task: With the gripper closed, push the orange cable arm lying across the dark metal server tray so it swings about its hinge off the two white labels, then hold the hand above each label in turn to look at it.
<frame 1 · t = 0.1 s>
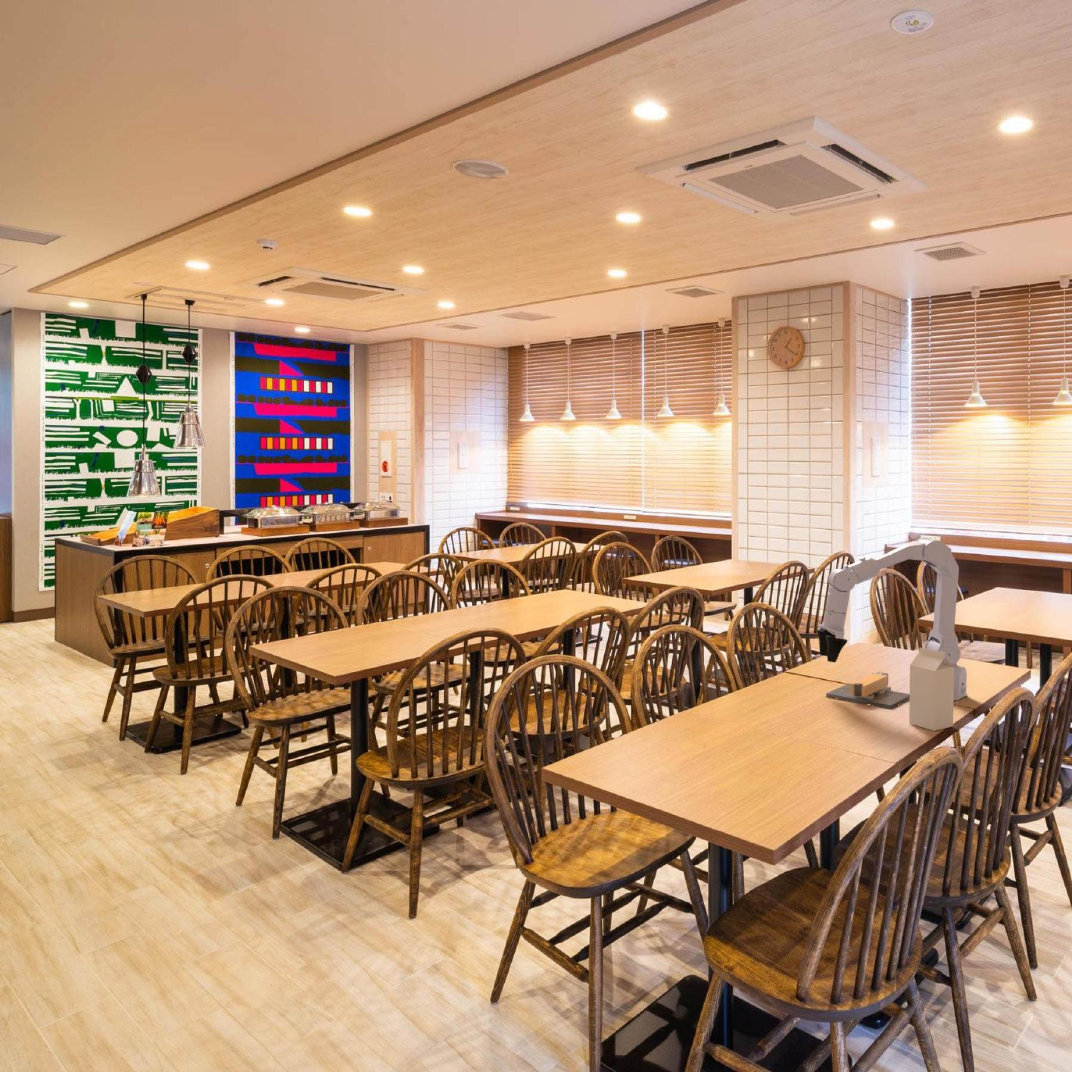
hand: (827, 658, 234), 10 cm above the table, tool pointing down, fingers open, 7 cm apart
server tray: (868, 697, 231), on the table
milk carton: (931, 726, 205), on the table
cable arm: (870, 684, 232), point 4 cm above the table, hinge at 0.0°
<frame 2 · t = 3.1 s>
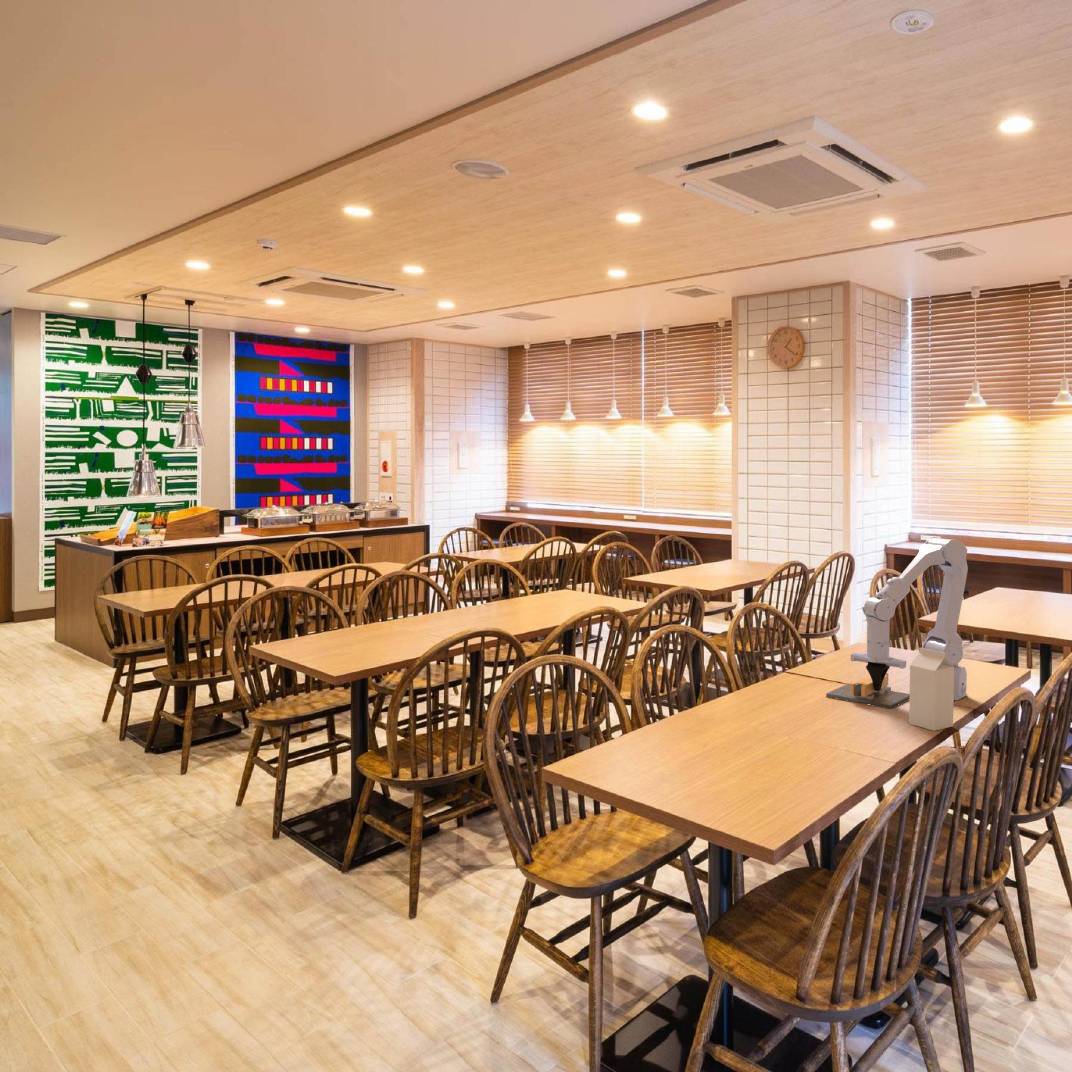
hand: (877, 690, 228), 3 cm above the table, tool pointing down, fingers closed
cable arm: (870, 684, 232), point 4 cm above the table, hinge at -0.4°, touching gripper
everything else where it was.
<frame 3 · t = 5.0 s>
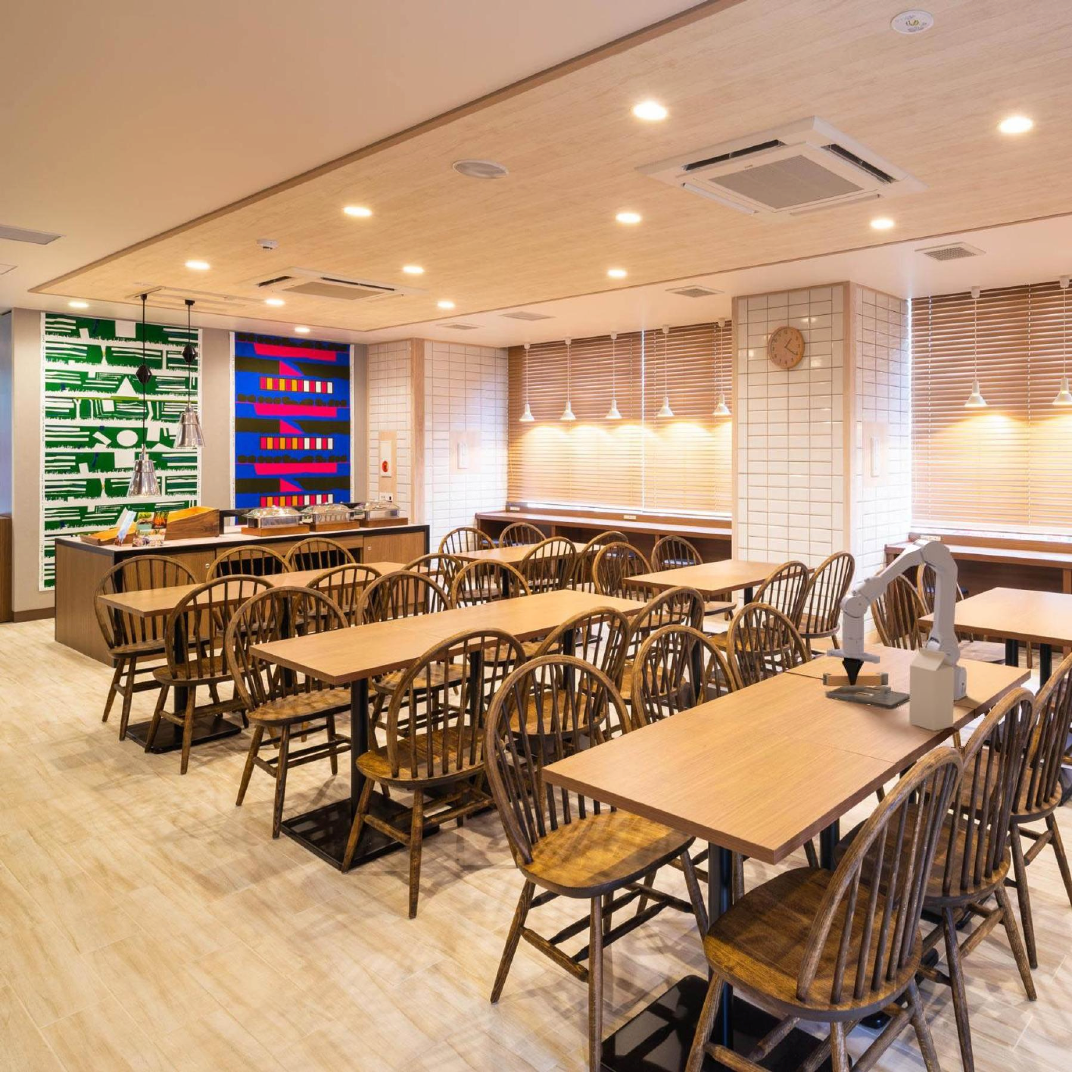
hand: (852, 684, 234), 3 cm above the table, tool pointing down, fingers closed
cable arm: (855, 679, 237), point 4 cm above the table, hinge at -47.2°, touching gripper
everything else where it was.
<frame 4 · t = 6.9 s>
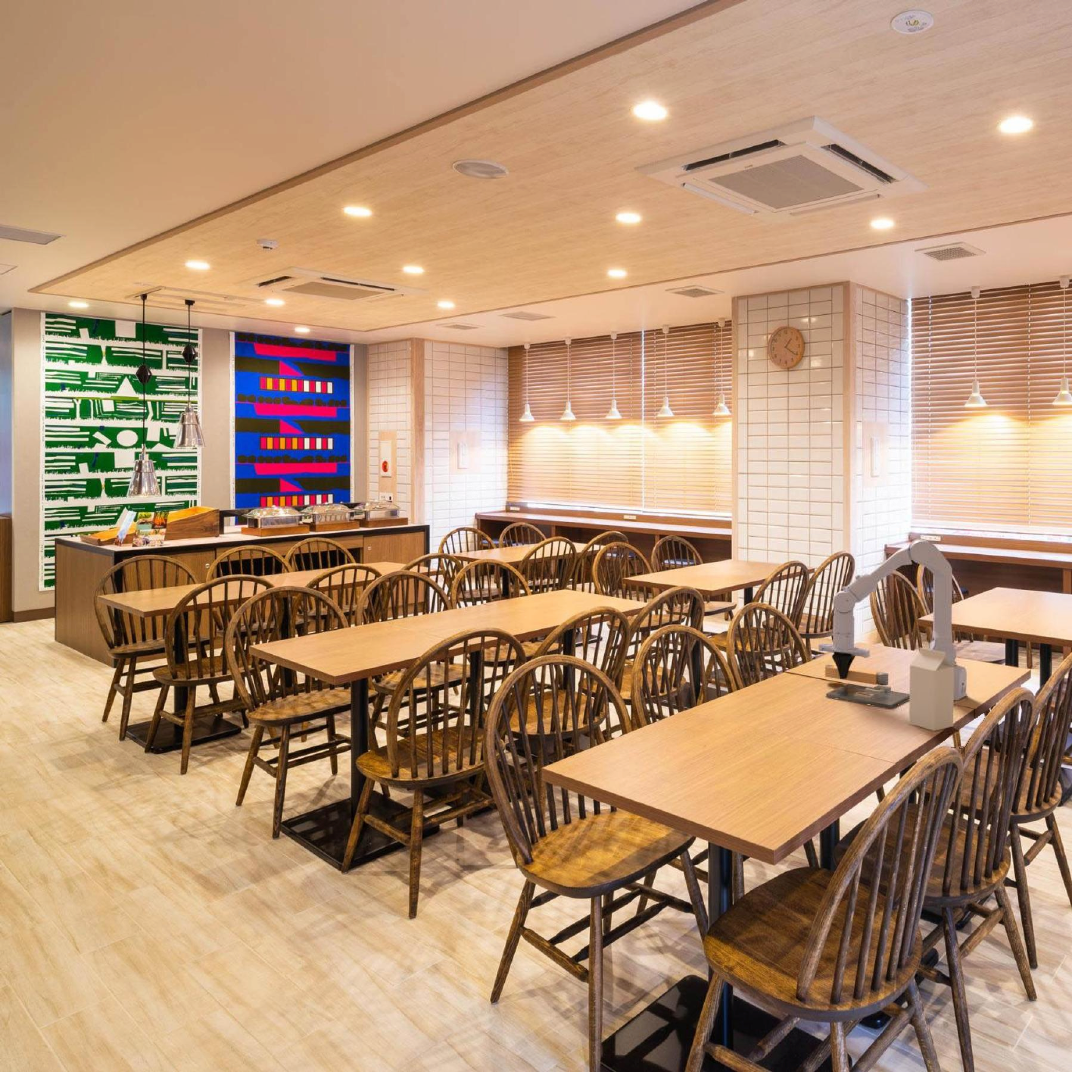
hand: (843, 678, 241), 3 cm above the table, tool pointing down, fingers closed, pressing on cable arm
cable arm: (856, 674, 242), point 4 cm above the table, hinge at -87.9°, touching gripper
everything else where it was.
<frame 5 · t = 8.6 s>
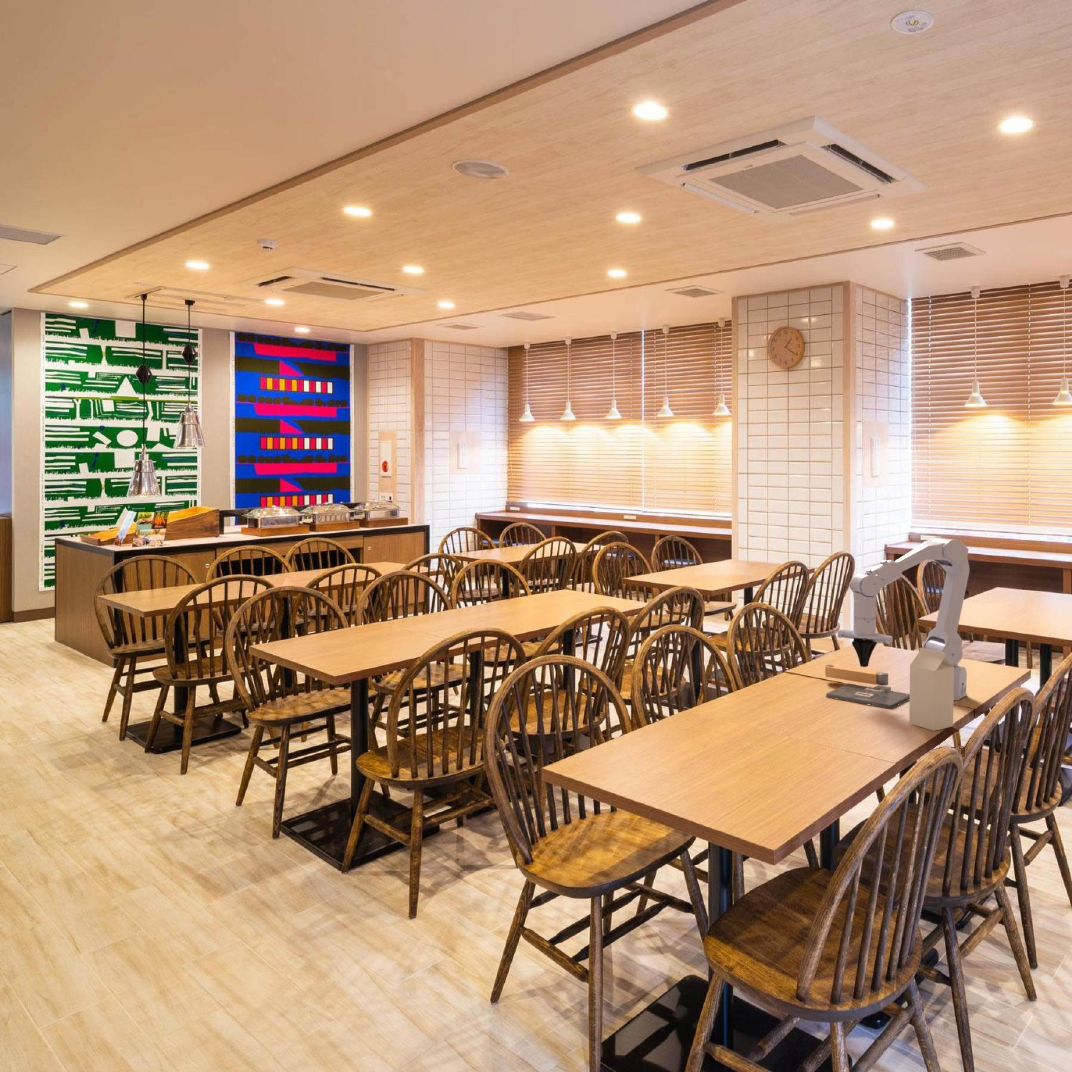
hand: (864, 666, 228), 9 cm above the table, tool pointing down, fingers closed
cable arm: (856, 674, 242), point 4 cm above the table, hinge at -88.3°
everything else where it was.
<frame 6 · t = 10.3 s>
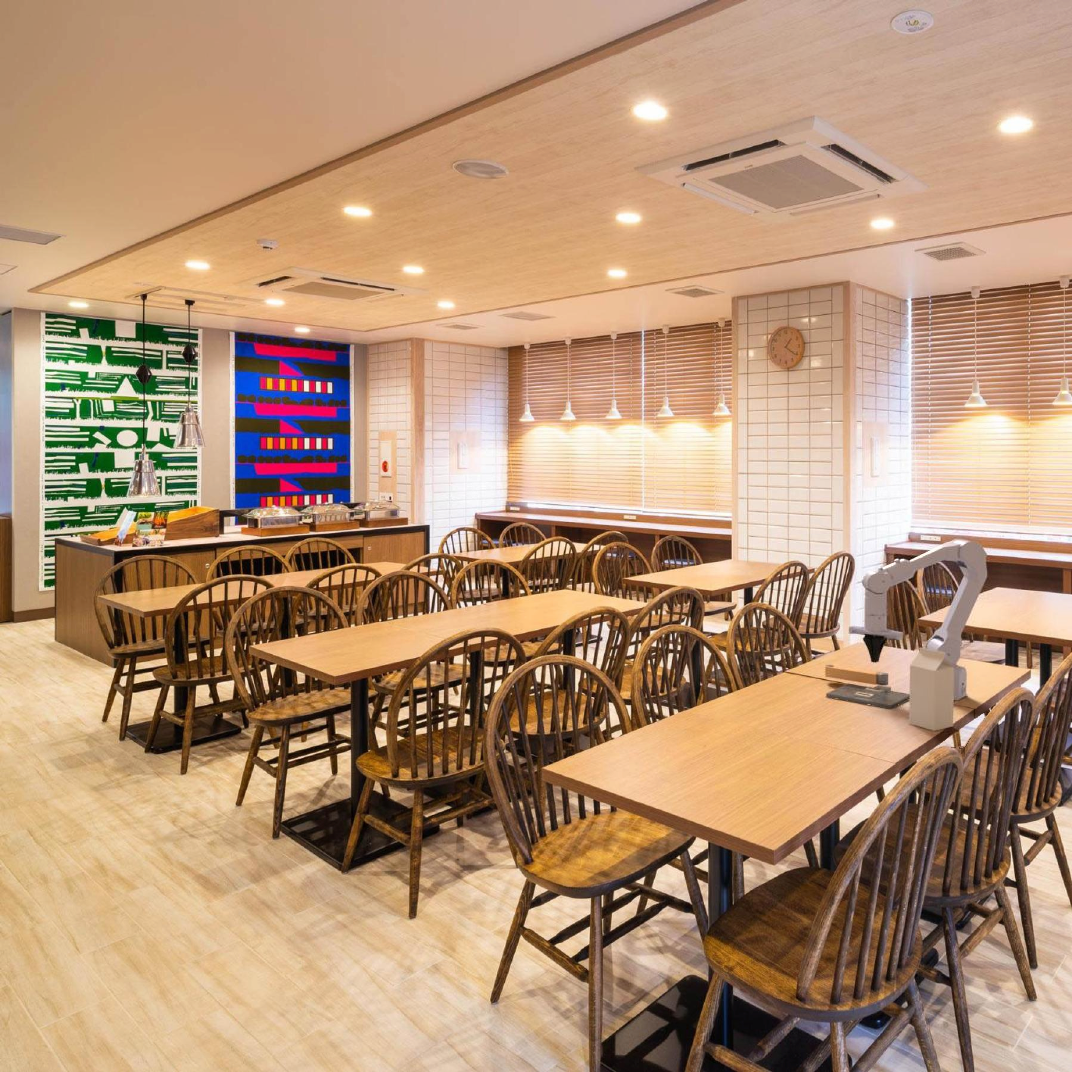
hand: (875, 661, 233), 9 cm above the table, tool pointing down, fingers closed
nothing on the table moved.
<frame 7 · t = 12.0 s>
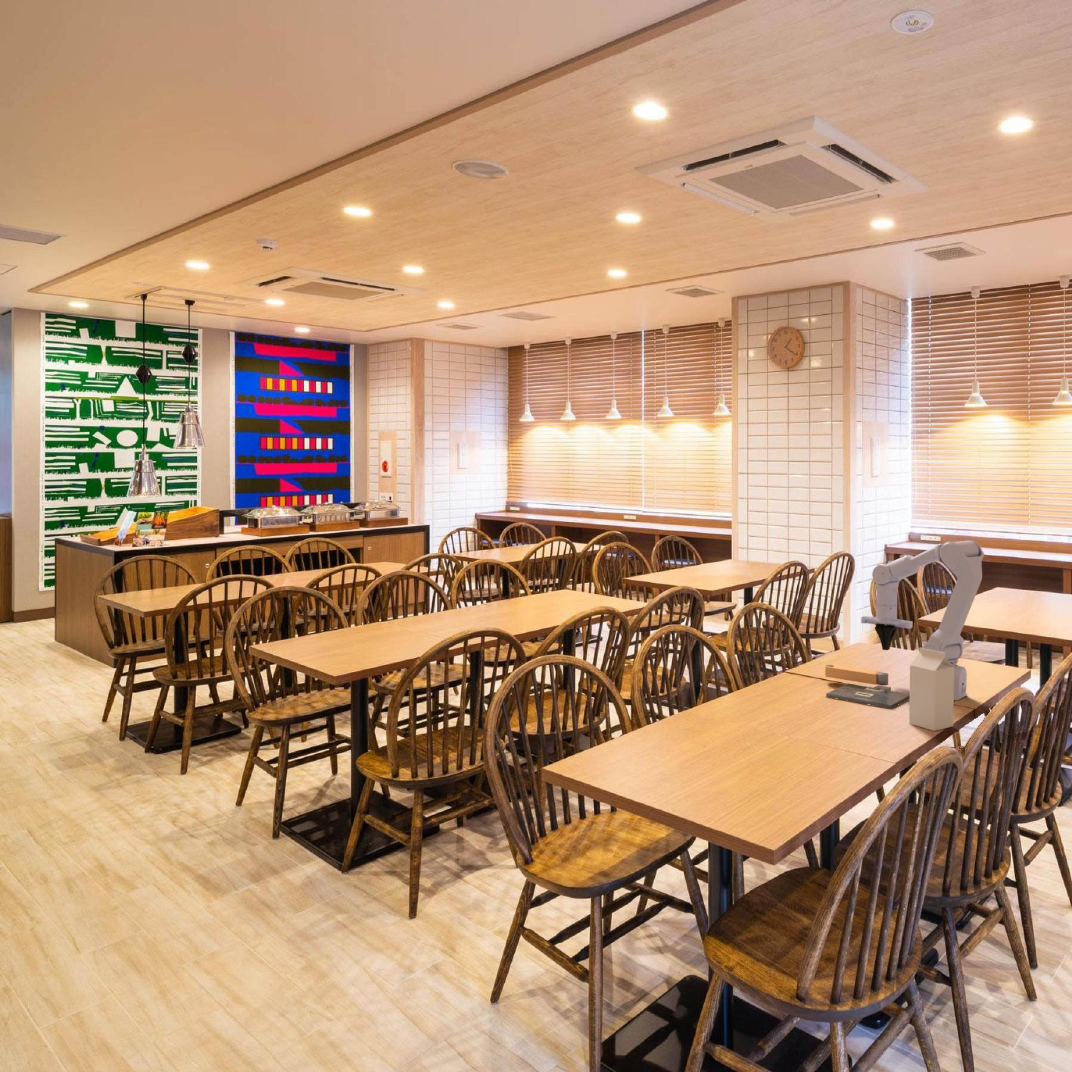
hand: (886, 649, 248), 9 cm above the table, tool pointing down, fingers closed
nothing on the table moved.
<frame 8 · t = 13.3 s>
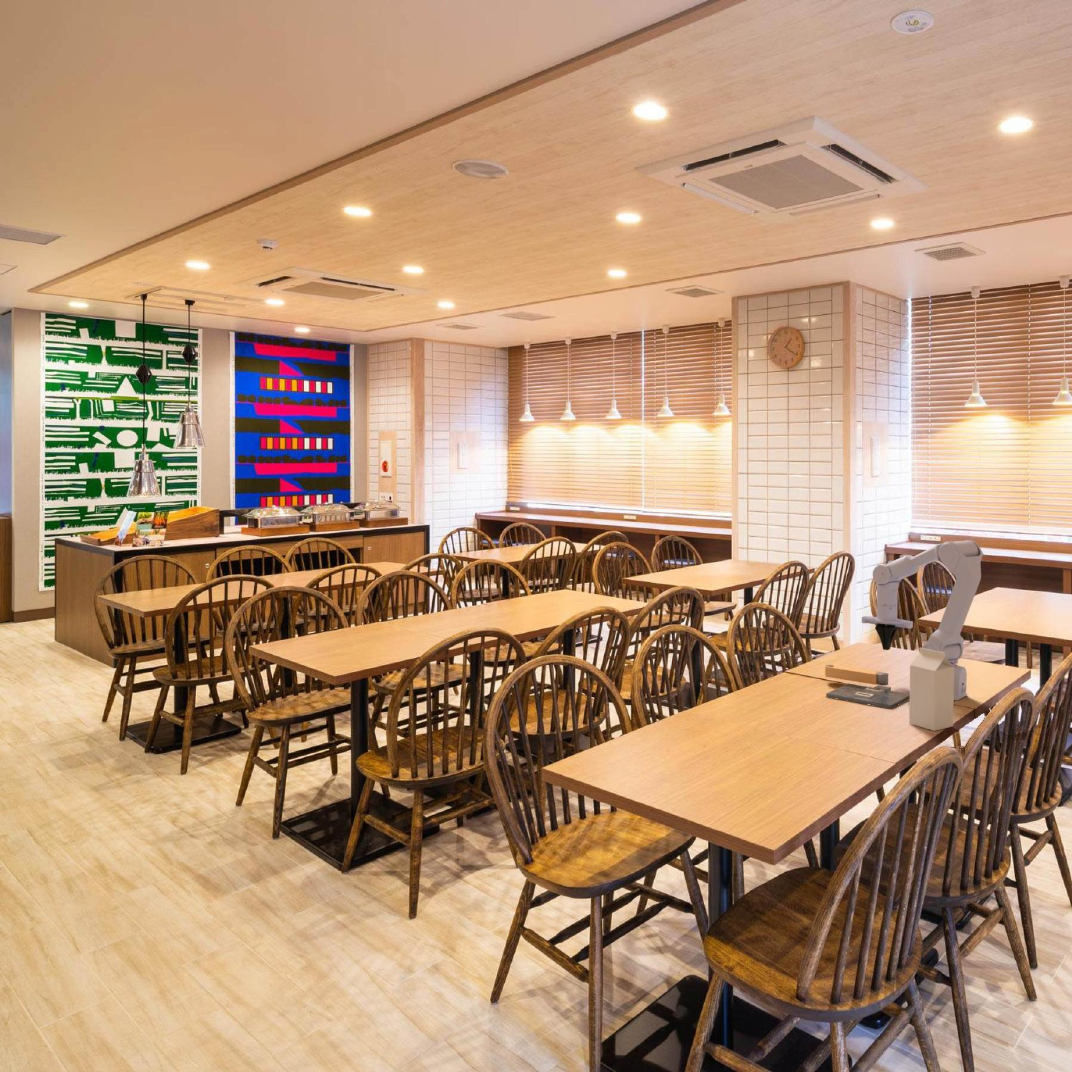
hand: (886, 649, 248), 9 cm above the table, tool pointing down, fingers closed
nothing on the table moved.
at the end: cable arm at -88° (first picture: +0°); milk carton moved 0.2 cm from its start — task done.
